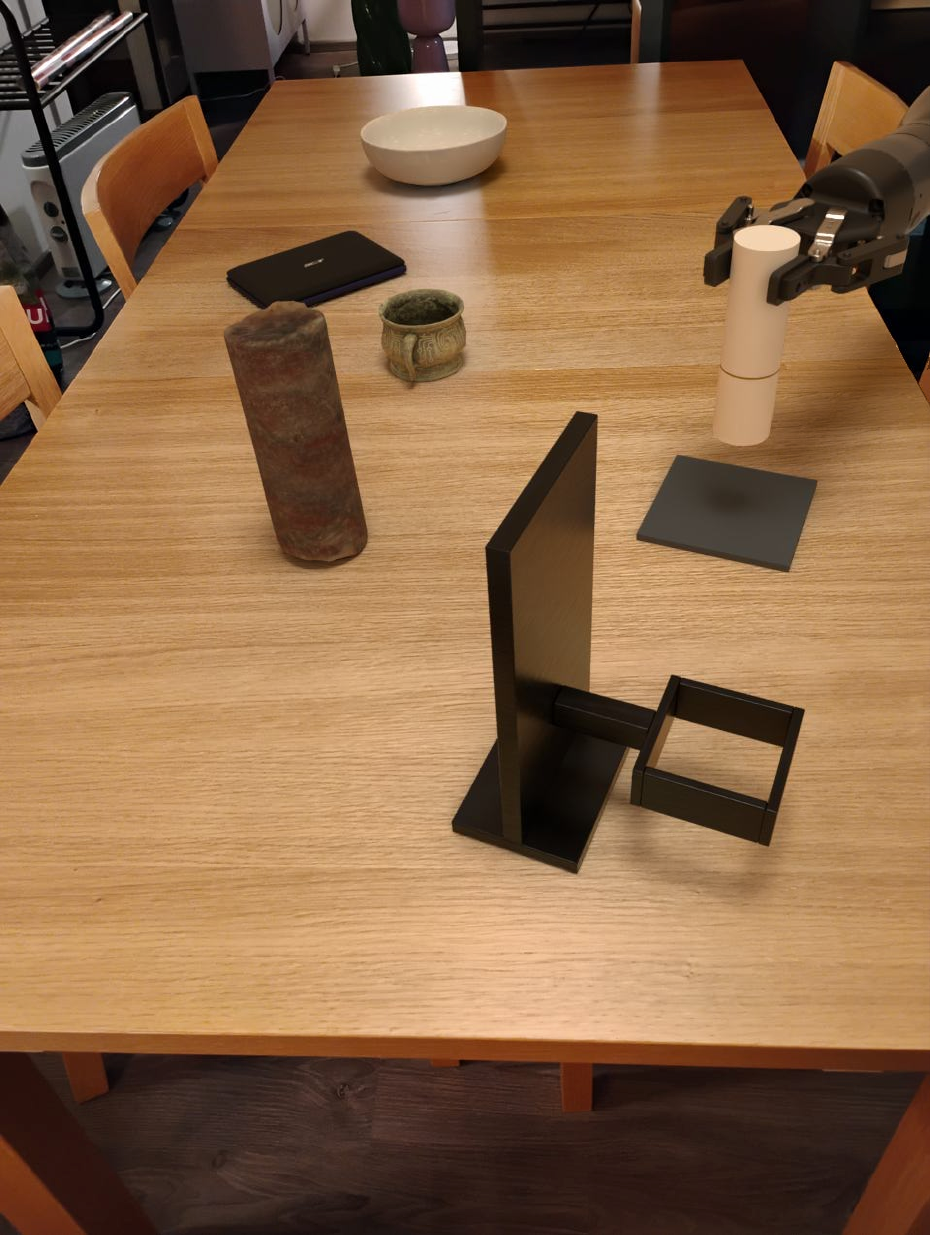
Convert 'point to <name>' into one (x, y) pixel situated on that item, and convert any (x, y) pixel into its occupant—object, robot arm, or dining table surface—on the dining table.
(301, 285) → the laptop
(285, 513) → the candle
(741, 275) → the tube
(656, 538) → the mat
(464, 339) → the vessel
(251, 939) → the dining table surface
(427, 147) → the serving bowl
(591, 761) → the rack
